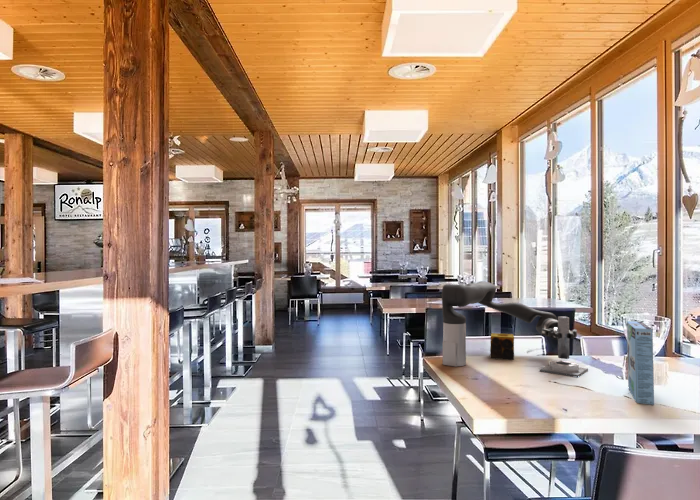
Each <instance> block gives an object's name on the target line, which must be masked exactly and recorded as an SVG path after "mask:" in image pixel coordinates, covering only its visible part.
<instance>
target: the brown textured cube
mask: <svg viewBox="0 0 700 500" xmlns="http://www.w3.org/2000/svg"><path fill="white" fill-rule="evenodd" d="M489 349H490V350H489V353H490V354H489V358H490V359H495V360H511V361H514V360H515V335H514V333H513V334H512V333H500V332H499V333H498V332H497V333H496V332H494V333H493V332H491V333H490V348H489Z"/></svg>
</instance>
